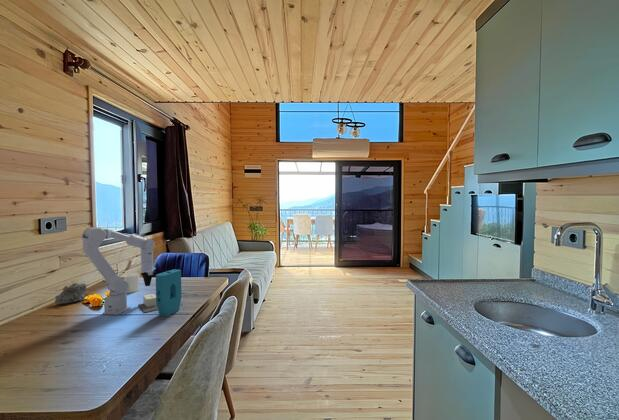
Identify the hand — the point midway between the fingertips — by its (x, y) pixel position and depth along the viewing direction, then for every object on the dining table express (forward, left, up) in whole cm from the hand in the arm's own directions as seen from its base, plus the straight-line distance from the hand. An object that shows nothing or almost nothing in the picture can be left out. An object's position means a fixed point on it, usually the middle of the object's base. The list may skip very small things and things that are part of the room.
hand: (147, 285), depth 159 cm
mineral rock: (-2, +41, -9) cm, 42 cm away
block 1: (-4, -4, -7) cm, 8 cm away
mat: (-6, -7, -9) cm, 13 cm away
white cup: (+17, +21, -9) cm, 29 cm away
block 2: (-13, -20, -9) cm, 26 cm away
